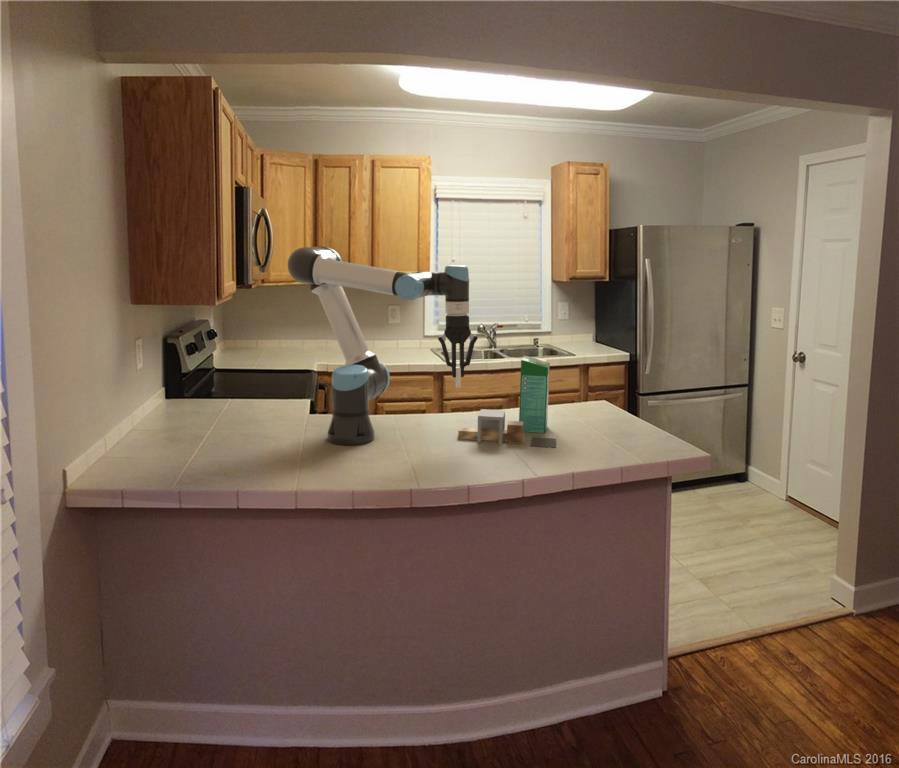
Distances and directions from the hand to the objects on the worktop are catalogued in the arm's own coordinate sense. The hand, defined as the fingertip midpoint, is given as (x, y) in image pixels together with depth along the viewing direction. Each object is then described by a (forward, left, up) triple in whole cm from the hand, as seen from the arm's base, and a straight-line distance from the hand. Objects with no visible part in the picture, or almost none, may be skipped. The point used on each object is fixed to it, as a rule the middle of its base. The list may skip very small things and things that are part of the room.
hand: (458, 387), depth 233 cm
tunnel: (+11, 0, -17) cm, 21 cm away
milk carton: (+24, +16, -17) cm, 34 cm away
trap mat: (+28, 0, -17) cm, 33 cm away
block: (+19, +1, -17) cm, 26 cm away
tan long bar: (+8, +2, -18) cm, 20 cm away
